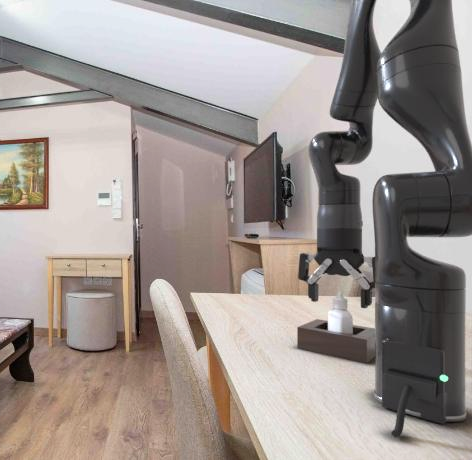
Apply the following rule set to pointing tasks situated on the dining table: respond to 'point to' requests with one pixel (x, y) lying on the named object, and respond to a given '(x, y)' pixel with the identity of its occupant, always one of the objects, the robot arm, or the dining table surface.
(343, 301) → the eye dropper bottle
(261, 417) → the dining table surface
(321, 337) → the holder
